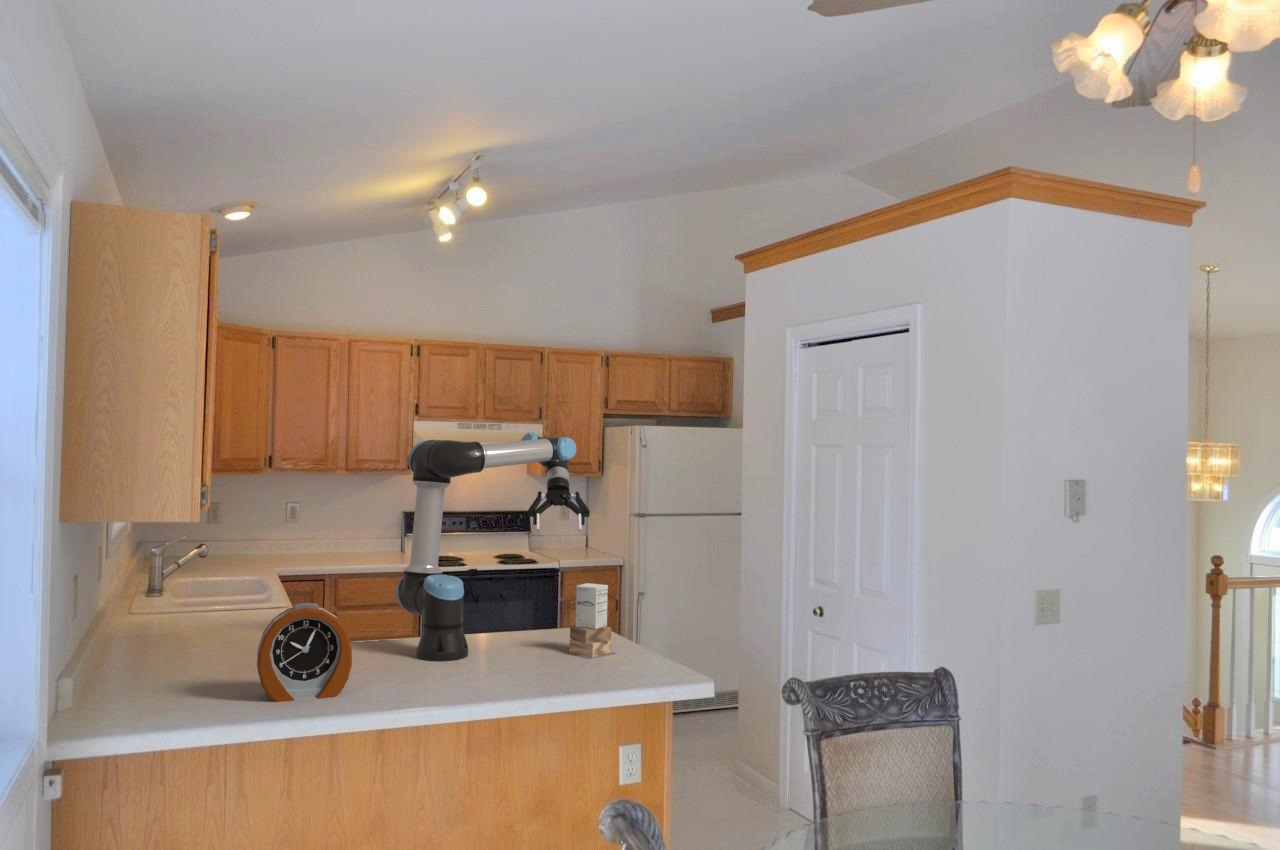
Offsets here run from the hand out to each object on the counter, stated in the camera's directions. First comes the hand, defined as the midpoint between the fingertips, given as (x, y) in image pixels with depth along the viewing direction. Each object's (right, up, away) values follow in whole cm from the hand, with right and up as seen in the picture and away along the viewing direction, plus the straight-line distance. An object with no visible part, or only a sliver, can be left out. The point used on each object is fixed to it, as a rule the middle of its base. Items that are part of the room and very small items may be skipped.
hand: (559, 531), depth 312 cm
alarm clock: (-58, -33, -71) cm, 97 cm away
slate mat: (+11, -35, -18) cm, 41 cm away
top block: (+11, -31, -18) cm, 37 cm away
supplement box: (+11, -27, -18) cm, 34 cm away
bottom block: (+11, -35, -18) cm, 41 cm away
